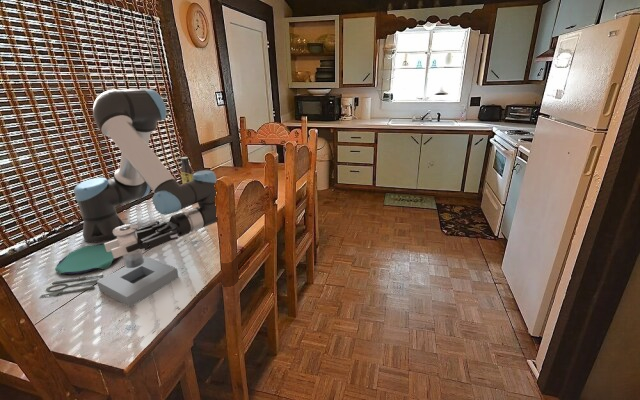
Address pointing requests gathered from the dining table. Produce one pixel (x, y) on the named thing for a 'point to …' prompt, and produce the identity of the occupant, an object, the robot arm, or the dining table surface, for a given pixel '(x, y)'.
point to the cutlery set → (82, 266)
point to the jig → (137, 281)
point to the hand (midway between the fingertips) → (109, 250)
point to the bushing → (126, 236)
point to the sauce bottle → (186, 170)
